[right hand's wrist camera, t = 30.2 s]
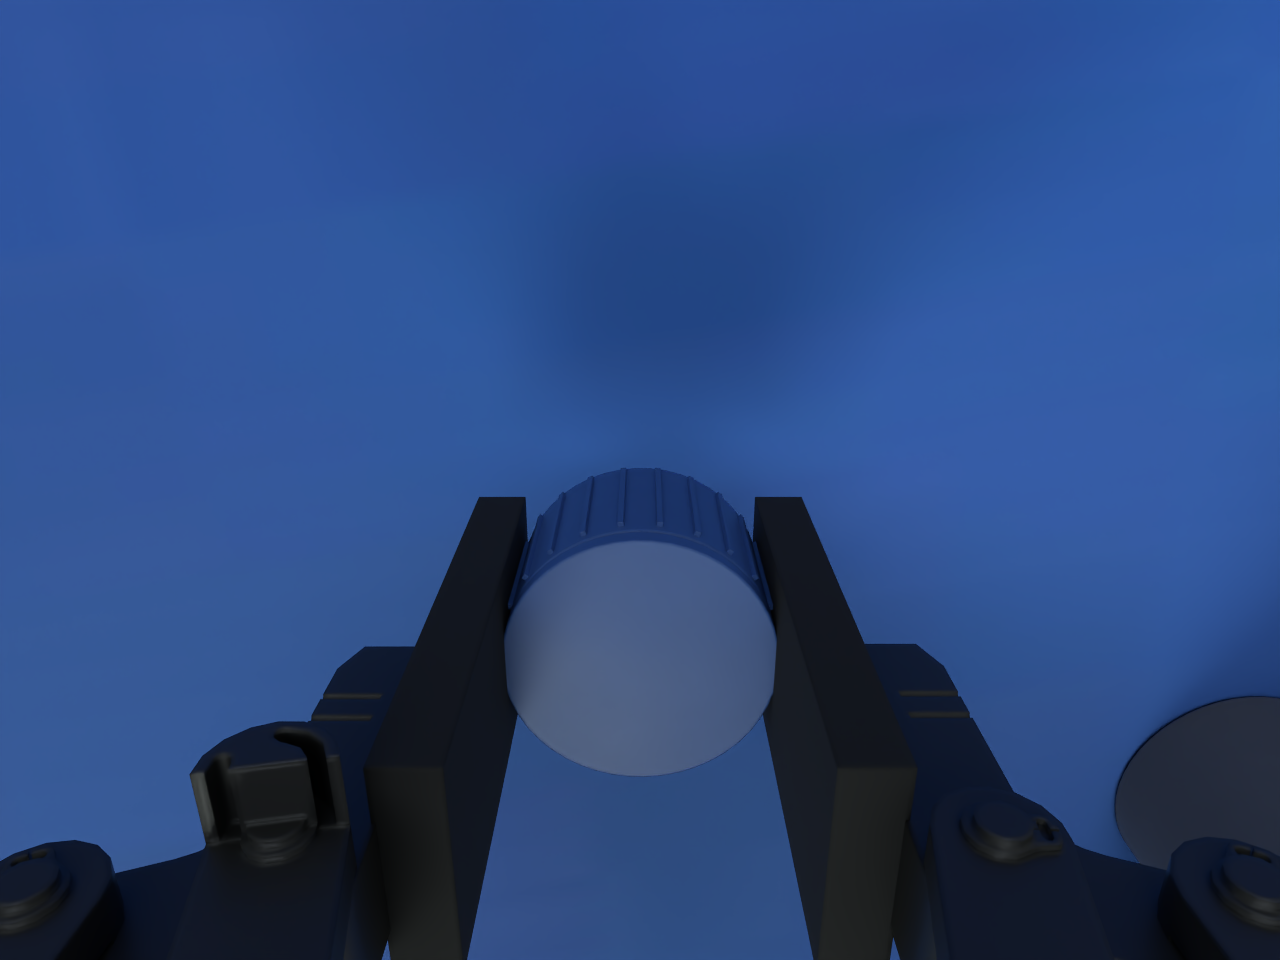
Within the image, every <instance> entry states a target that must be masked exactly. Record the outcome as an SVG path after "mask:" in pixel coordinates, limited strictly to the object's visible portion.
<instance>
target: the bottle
mask: <svg viewBox="0 0 1280 960" xmlns="http://www.w3.org/2000/svg"><path fill="white" fill-rule="evenodd" d="M1115 811H1116V821H1117V824H1118V828H1119V831H1120V833H1121V835H1122V837H1123V839H1124V841H1125V842H1126V844H1127V845H1128V847H1129V848H1130V850H1131V851H1132V853H1133V854H1134V855H1135V857H1136V858H1137V860H1138V861H1139V863H1140V864H1143V865H1147V866H1151V867H1155V868H1160V869H1164V870H1167V867H1168V864H1169V860H1170V857H1171V854H1172V853H1173V852H1174V851H1175V850H1176V849H1177V848H1178V847H1179V846H1180V845H1181V844H1182V843H1183V842H1184V841H1189V840H1193V839H1198V838H1202V837H1216V838H1225V839H1235V840H1238V841H1242V842H1245V843H1248V844H1251V845H1254V846H1257V847H1260V848H1263V849H1266V850H1269V851H1270V852H1272V853H1274V854H1276V855H1278V856H1280V698H1271V697H1244V698H1235V699H1230V700H1225V701H1220V702H1217V703H1213V704H1210V705H1207V706H1204V707H1201V708H1199V709H1197V710H1194V711H1192V712H1190V713H1188V714H1186V715H1184V716H1182V717H1180V718H1178V719H1177V720H1175V721H1173V722H1172V723H1170V724H1169V725H1167V726H1166V727H1164V728H1163V729H1161V730H1160V731H1159V732H1158V733H1157V734H1155V735H1154V736H1153V737H1152V738H1151V739H1149V740H1148V741H1147V742H1146V744H1145V745H1144V746H1143V747H1142V748H1141V749H1140V750H1139V751H1138V752H1137V754H1136V755H1135V756H1134V758H1133V759H1132V760H1131V761H1130V763H1129V765H1128V767H1127V768H1126V770H1125V772H1124V774H1123V776H1122V779H1121V781H1120V783H1119V787H1118V791H1117V795H1116V804H1115Z"/></svg>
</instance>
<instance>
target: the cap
mask: <svg viewBox="0 0 1280 960" xmlns="http://www.w3.org/2000/svg"><path fill="white" fill-rule="evenodd" d="M508 609H509V610H510V614H509V618H508V621H507V625H506V629H505V633H504V648H505V663H506V678H507V691H508V695H509V698H510V700H511V702H512V704H513V706H514V708H515V710H516V711H517V713H518V715H519V716H520V718H521V719H522V720H523V722H524V723H525V724H526V726H527V727H528V728H529V729H530V730H531V731H532V732H533V733H534V735H535V736H536V737H537V738H538V739H540V740H541V741H542V742H543V743H544V744H546V745H547V746H548V747H549V748H551V749H552V750H554V751H555V752H557V753H558V754H560V755H562V756H563V757H565V758H567V759H569V760H571V761H573V762H575V763H577V764H579V765H582V766H585V767H588V768H590V769H593V770H596V771H601V772H605V773H609V774H614V775H623V776H639V777H648V776H659V775H667V774H672V773H677V772H681V771H684V770H688V769H691V768H694V767H697V766H699V765H702V764H704V763H706V762H708V761H711V760H713V759H714V758H716V757H718V756H720V755H721V754H723V753H725V752H726V751H728V750H729V749H730V748H732V747H733V746H734V745H736V744H737V743H738V742H739V741H740V740H741V739H742V738H743V737H745V736H746V735H747V734H748V733H749V732H750V731H751V729H752V728H753V727H754V726H755V724H756V723H757V722H758V721H759V719H760V718H761V716H762V714H763V713H764V711H765V709H766V708H767V706H768V704H769V702H770V699H771V697H772V694H773V688H774V674H775V659H776V644H777V635H776V630H775V626H774V622H773V619H772V614H771V611H770V610H773V603H772V599H771V595H770V592H769V588H768V584H767V581H766V577H765V573H764V570H763V566H762V562H761V559H760V555H759V551H758V548H757V544H756V541H755V542H752V540H751V537H750V535H749V532H748V530H747V529H746V525H745V521H744V518H743V516H742V515H739V516H738V514H737V513H736V512H735V510H734V509H733V508H732V507H731V506H730V505H729V504H728V503H727V502H726V501H725V500H724V499H723V498H722V495H721V494H720V493H719V492H718V493H715V492H714V491H713V490H711V489H710V488H708V487H707V486H705V485H703V484H701V483H699V482H698V481H696V480H694V478H693V477H690V476H688V477H686V476H683V475H680V474H677V473H673V472H669V471H664V470H661V469H660V468H655V469H647V468H633V469H626V468H621V470H617V471H612V472H608V473H604V474H601V475H598V476H596V477H593V476H591V477H589V478H588V480H586V481H584V482H582V483H580V484H578V485H576V486H575V487H573V488H572V489H570V490H569V491H567V492H566V493H564V492H562V493H561V494H560V495H559V499H557V500H556V501H555V502H554V503H553V504H552V505H551V506H550V507H549V509H548V510H547V511H546V512H545V513H544V515H543V516H542V515H541V514H540V515H539V517H538V519H537V523H536V526H535V529H534V531H533V534H532V536H531V538H530V541H529V542H527V541H526V542H525V545H524V548H523V552H522V555H521V559H520V563H519V566H518V570H517V573H516V577H515V580H514V584H513V588H512V591H511V595H510V598H509V602H508Z"/></svg>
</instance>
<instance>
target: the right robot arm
mask: <svg viewBox="0 0 1280 960" xmlns="http://www.w3.org/2000/svg"><path fill="white" fill-rule="evenodd" d="M526 541H527V542H528V537H527V518H526V499H525V497H479V499H478V501H477V503H476V506H475V508H474V510H473V513H472V515H471V517H470V520H469V522H468V524H467V527H466V529H465V531H464V534H463V536H462V538H461V541H460V543H459V545H458V548H457V550H456V552H455V555H454V557H453V559H452V562H451V564H450V566H449V569H448V571H447V573H446V576H445V578H444V580H443V583H442V585H441V587H440V589H439V592H438V594H437V596H436V599H435V601H434V603H433V606H432V608H431V610H430V613H429V615H428V617H427V620H426V622H425V624H424V627H423V629H422V631H421V634H420V636H419V638H418V641H417V643H416V645H415V647H364V648H363V649H362V650H360V651H359V652H358V653H357V654H355V655H354V656H353V657H352V658H350V659H349V660H348V661H347V662H345V663H344V664H343V665H341V666H340V667H339V668H338V669H337V670H336V672H335V674H334V676H333V678H332V679H331V681H330V683H329V685H328V687H327V689H326V690H325V692H324V694H323V699H320V701H319V703H318V705H317V707H316V708H315V710H314V712H313V714H312V719H311V721H308V723H307V722H274V723H270V724H265V725H261V726H256V727H252V728H249V729H247V730H244V731H242V732H240V733H238V734H235V735H233V736H231V737H229V738H227V739H224V740H223V741H222V742H220V743H219V744H218V745H216V746H215V747H214V748H212V749H211V750H210V751H208V752H207V753H206V754H204V755H203V756H202V757H201V759H200V760H199V762H198V763H197V765H196V766H195V767H194V769H193V770H192V772H191V773H190V778H191V783H192V787H193V791H194V795H195V800H196V804H197V808H198V812H199V816H200V821H201V825H202V829H203V833H204V837H205V842H206V846H205V849H203V850H201V851H199V852H196V853H193V854H190V855H187V856H183V857H180V858H177V859H173V860H169V861H165V862H161V863H157V864H153V865H148V866H144V867H140V868H136V869H132V870H127V871H123V872H119V873H115V872H114V868H113V865H112V861H111V858H110V857H109V856H108V855H107V854H106V853H105V852H104V851H103V850H102V849H101V848H100V847H99V846H98V845H95V844H91V843H86V842H82V841H77V840H71V841H61V842H51V843H45V844H42V845H39V846H36V847H33V848H30V849H27V850H24V851H21V852H18V853H14V854H12V855H11V856H9V857H7V858H5V859H3V860H2V861H0V960H382V957H383V953H384V950H385V947H386V944H387V940H388V944H389V951H390V958H391V960H467V957H468V952H469V947H470V942H471V937H472V933H473V928H474V923H475V918H476V913H477V908H478V904H479V899H480V894H481V889H482V884H483V879H484V875H485V870H486V865H487V860H488V855H489V850H490V846H491V841H492V836H493V831H494V826H495V821H496V816H497V812H498V807H499V802H500V797H501V792H502V787H503V783H504V778H505V773H506V768H507V763H508V758H509V754H510V749H511V744H512V739H513V734H514V729H515V724H516V720H517V715H518V713H517V711H516V710H515V708H514V706H513V704H512V702H511V700H510V698H509V695H508V691H507V678H506V663H505V648H504V633H505V629H506V625H507V621H508V618H509V614H510V610H509V609H508V602H509V598H510V595H511V591H512V588H513V584H514V580H515V577H516V573H517V570H518V566H519V563H520V559H521V555H522V552H523V548H524V545H525V542H526ZM755 541H756V544H757V548H758V551H759V555H760V559H761V562H762V566H763V570H764V573H765V577H766V581H767V584H768V588H769V592H770V595H771V599H772V603H773V610H770V611H771V614H772V619H773V622H774V626H775V630H776V635H777V644H776V659H775V674H774V688H773V694H772V697H771V699H770V702H769V704H768V706H767V708H766V709H765V711H764V713H763V717H764V722H765V727H766V732H767V736H768V741H769V746H770V751H771V756H772V761H773V765H774V770H775V775H776V780H777V785H778V790H779V794H780V799H781V804H782V809H783V814H784V819H785V823H786V828H787V833H788V838H789V843H790V848H791V853H792V857H793V862H794V867H795V872H796V877H797V882H798V886H799V891H800V896H801V901H802V906H803V911H804V915H805V920H806V925H807V930H808V935H809V940H810V944H811V949H812V954H813V959H814V960H890V955H891V948H892V941H893V937H894V941H895V944H896V947H897V950H898V954H899V957H900V960H1280V856H1278V855H1276V854H1274V853H1272V852H1270V851H1269V850H1266V849H1263V848H1260V847H1257V846H1254V845H1251V844H1248V843H1245V842H1242V841H1238V840H1235V839H1225V838H1216V837H1202V838H1198V839H1193V840H1189V841H1184V842H1183V843H1182V844H1181V845H1180V846H1179V847H1178V848H1177V849H1176V850H1175V851H1174V852H1173V853H1172V854H1171V857H1170V860H1169V864H1168V867H1167V870H1164V869H1160V868H1155V867H1151V866H1147V865H1143V864H1139V863H1134V862H1130V861H1126V860H1122V859H1118V858H1113V857H1109V856H1105V855H1102V854H1099V853H1096V852H1093V851H1089V850H1086V849H1083V848H1081V847H1079V846H1077V845H1075V844H1074V842H1073V840H1072V839H1071V837H1070V836H1069V834H1068V832H1067V831H1066V829H1065V827H1064V826H1063V824H1062V823H1061V822H1060V821H1059V820H1058V819H1056V818H1055V817H1054V816H1053V815H1052V814H1051V813H1049V812H1048V811H1047V810H1046V809H1045V808H1043V807H1042V806H1041V805H1039V804H1037V803H1035V802H1033V801H1031V800H1029V799H1027V798H1025V797H1023V796H1021V795H1019V794H1017V793H1014V791H1013V790H1012V788H1011V786H1010V784H1009V783H1008V781H1007V779H1006V777H1005V775H1004V774H1003V772H1002V770H1001V768H1000V766H999V765H998V763H997V761H996V759H995V757H994V756H993V754H992V752H991V750H990V748H989V747H988V745H987V743H986V741H985V739H984V738H983V736H982V734H981V732H980V731H979V729H978V727H977V725H976V723H975V722H974V720H973V718H970V715H969V714H970V713H969V711H968V709H967V707H966V705H965V704H964V702H963V700H962V698H961V697H958V691H957V689H956V687H955V686H954V684H953V682H952V680H951V678H950V677H949V675H948V673H947V671H946V670H945V668H944V666H943V665H942V664H940V663H939V662H938V661H937V660H935V659H934V658H933V657H932V656H930V655H929V654H928V653H927V652H925V651H924V650H923V649H921V648H920V647H919V646H918V645H916V644H864V642H863V639H862V637H861V635H860V632H859V630H858V628H857V625H856V623H855V621H854V618H853V616H852V614H851V611H850V609H849V607H848V604H847V602H846V600H845V597H844V595H843V593H842V590H841V588H840V586H839V583H838V581H837V579H836V576H835V574H834V572H833V569H832V567H831V565H830V562H829V560H828V558H827V555H826V553H825V551H824V549H823V546H822V544H821V542H820V539H819V537H818V535H817V532H816V530H815V528H814V525H813V523H812V521H811V518H810V516H809V514H808V511H807V509H806V507H805V504H804V502H803V500H802V497H755V510H754V529H753V542H755Z"/></svg>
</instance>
